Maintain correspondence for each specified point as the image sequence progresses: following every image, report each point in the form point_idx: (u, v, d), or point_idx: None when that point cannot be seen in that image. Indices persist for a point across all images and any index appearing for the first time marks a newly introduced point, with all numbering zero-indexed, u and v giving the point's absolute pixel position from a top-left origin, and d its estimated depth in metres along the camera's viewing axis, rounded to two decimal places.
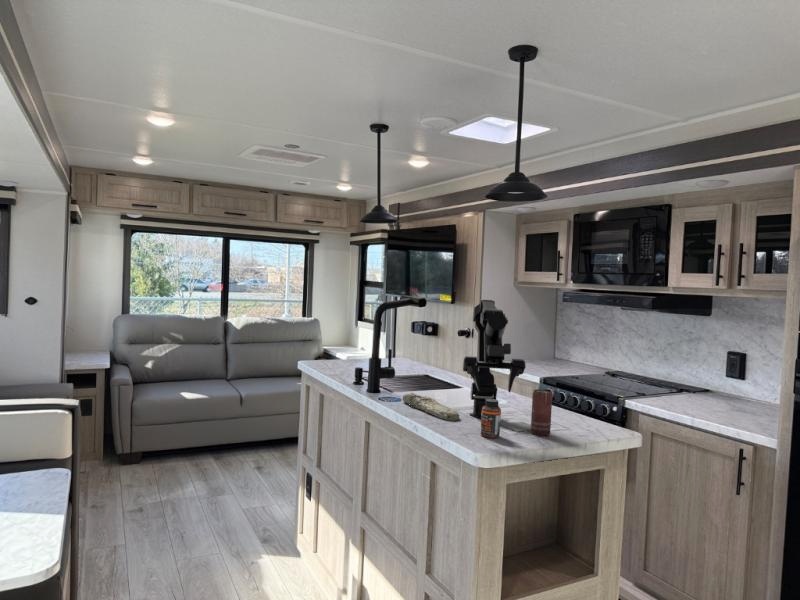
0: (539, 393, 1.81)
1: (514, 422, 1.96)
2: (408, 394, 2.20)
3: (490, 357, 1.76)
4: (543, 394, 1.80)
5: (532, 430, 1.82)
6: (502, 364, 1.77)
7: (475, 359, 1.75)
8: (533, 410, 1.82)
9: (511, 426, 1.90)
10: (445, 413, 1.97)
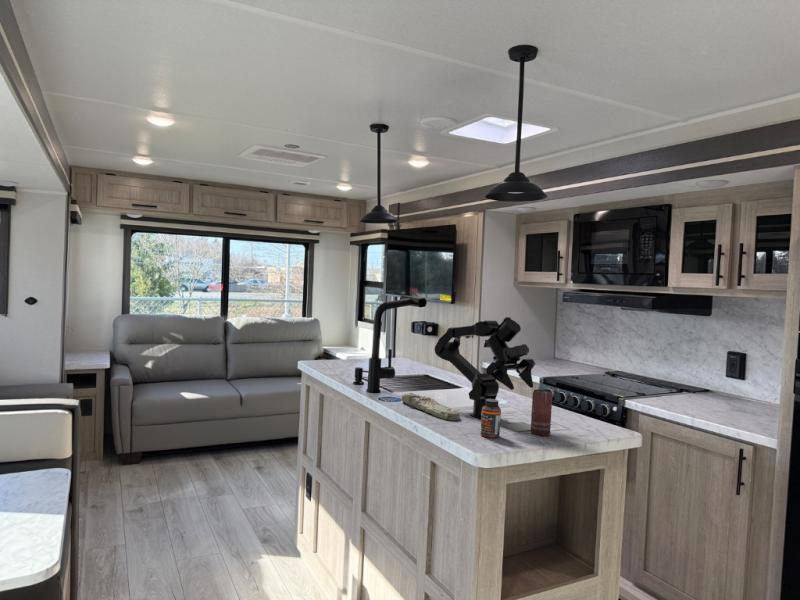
0: (539, 393, 1.81)
1: (514, 422, 1.96)
2: (407, 394, 2.20)
3: (510, 359, 1.92)
4: (543, 394, 1.80)
5: (532, 430, 1.82)
6: (516, 365, 1.95)
7: (502, 361, 1.88)
8: (533, 410, 1.82)
9: (511, 426, 1.90)
10: (446, 413, 1.97)
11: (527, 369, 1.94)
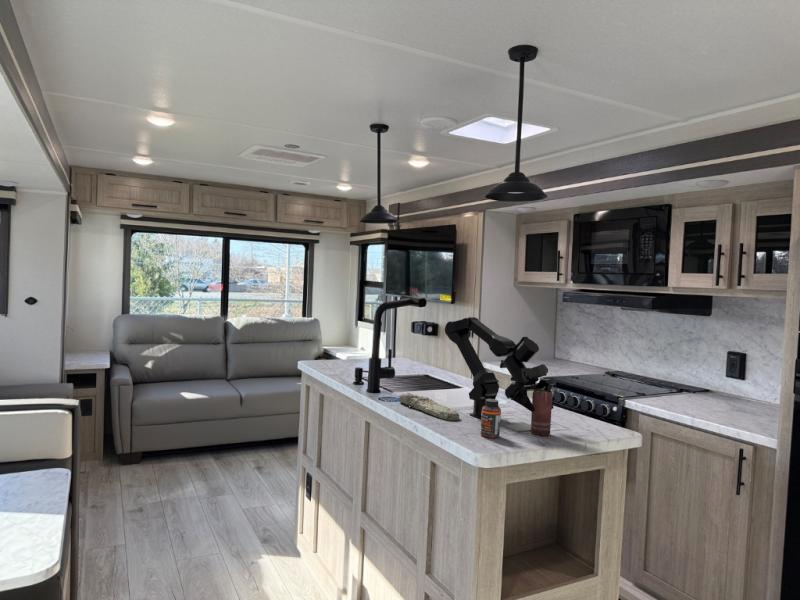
0: (539, 393, 1.81)
1: (514, 422, 1.96)
2: (405, 394, 2.19)
3: (529, 380, 1.86)
4: (543, 394, 1.80)
5: (532, 430, 1.82)
6: (535, 386, 1.89)
7: (522, 383, 1.82)
8: None
9: (511, 426, 1.90)
10: (445, 413, 1.97)
11: None
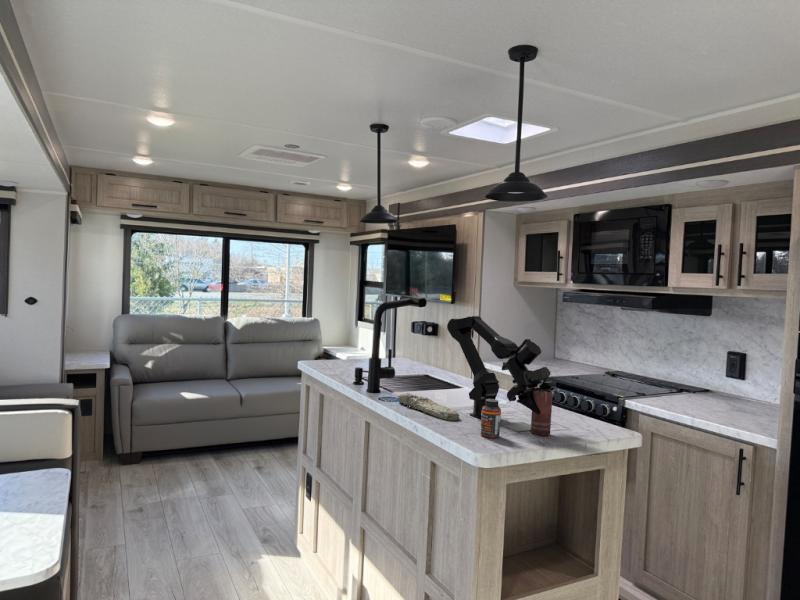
0: (539, 393, 1.81)
1: (514, 422, 1.96)
2: (404, 394, 2.19)
3: (531, 382, 1.85)
4: (543, 394, 1.80)
5: (532, 430, 1.82)
6: (537, 388, 1.88)
7: (524, 386, 1.82)
8: None
9: (511, 426, 1.90)
10: (445, 413, 1.97)
11: None
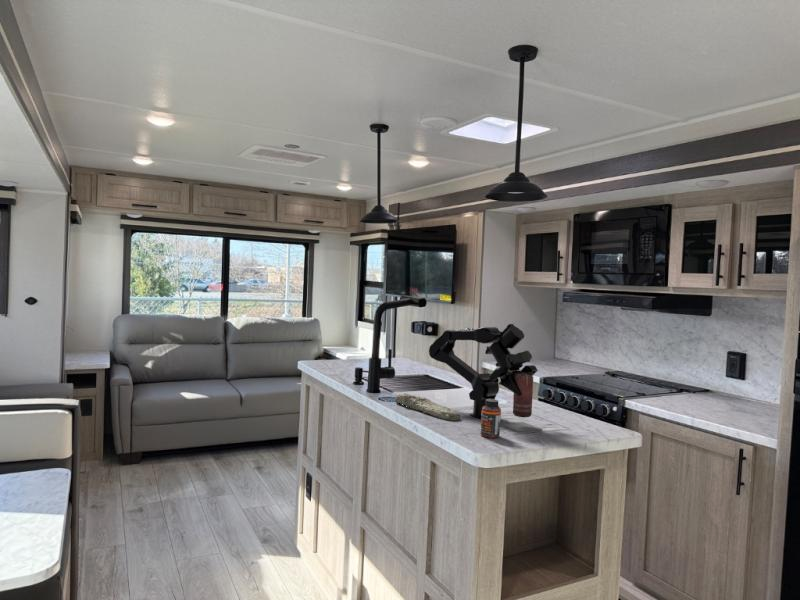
0: (520, 376, 1.88)
1: (514, 422, 1.96)
2: (401, 395, 2.18)
3: (513, 365, 1.92)
4: (524, 377, 1.87)
5: (514, 412, 1.90)
6: None
7: (506, 368, 1.89)
8: None
9: (511, 426, 1.90)
10: (447, 413, 1.97)
11: None
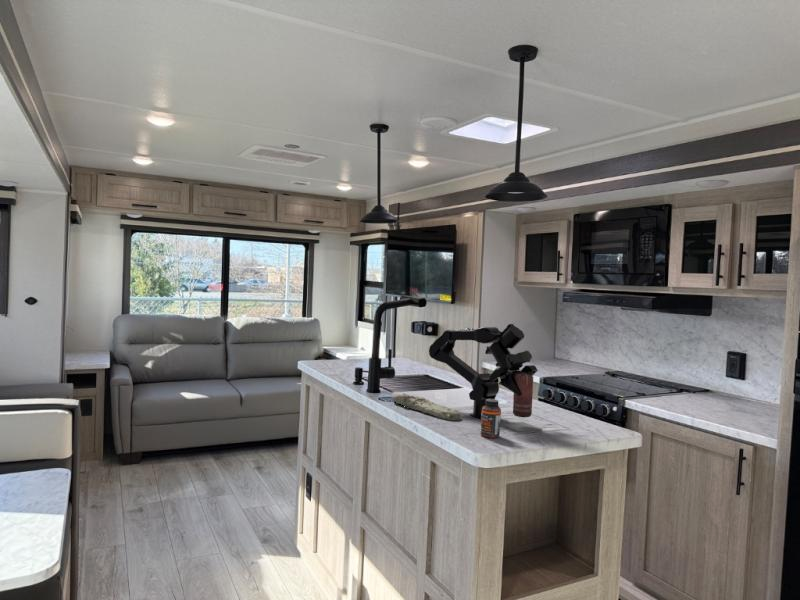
0: (520, 376, 1.88)
1: (514, 422, 1.96)
2: (400, 395, 2.18)
3: (513, 365, 1.92)
4: (524, 377, 1.87)
5: (514, 412, 1.90)
6: None
7: (506, 368, 1.89)
8: None
9: (511, 426, 1.90)
10: (447, 413, 1.97)
11: None
